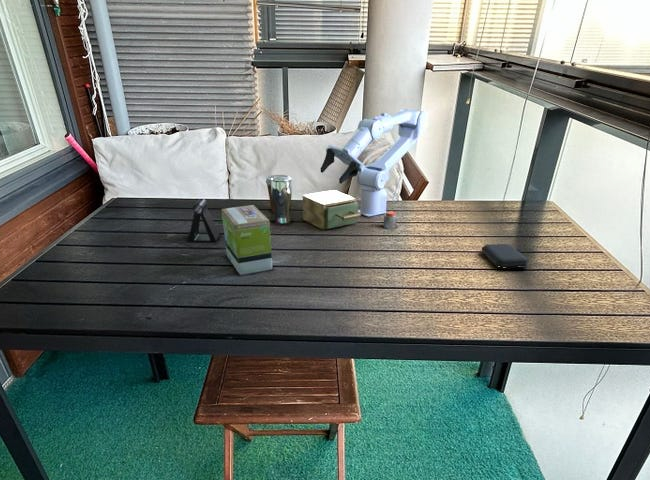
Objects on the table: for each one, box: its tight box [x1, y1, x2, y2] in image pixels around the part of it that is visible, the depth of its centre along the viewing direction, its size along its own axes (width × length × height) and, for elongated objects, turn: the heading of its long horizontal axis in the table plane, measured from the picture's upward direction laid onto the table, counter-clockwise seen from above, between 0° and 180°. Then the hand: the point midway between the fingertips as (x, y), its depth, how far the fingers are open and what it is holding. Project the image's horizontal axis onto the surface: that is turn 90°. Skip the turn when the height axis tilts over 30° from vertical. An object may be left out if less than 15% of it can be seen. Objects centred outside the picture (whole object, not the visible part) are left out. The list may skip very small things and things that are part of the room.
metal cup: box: [265, 174, 290, 213], centre depth 182 cm, size 10×10×12 cm
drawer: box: [325, 201, 362, 229], centre depth 168 cm, size 18×12×7 cm
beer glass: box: [271, 176, 293, 226], centre depth 169 cm, size 7×7×15 cm
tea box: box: [221, 204, 273, 276], centre depth 137 cm, size 15×10×15 cm, turn 23°
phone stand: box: [187, 198, 220, 243], centre depth 156 cm, size 9×6×12 cm, turn 88°
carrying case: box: [481, 243, 530, 270], centre depth 143 cm, size 11×3×15 cm
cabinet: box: [302, 189, 357, 231], centre depth 172 cm, size 14×14×9 cm
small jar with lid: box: [383, 210, 398, 230], centre depth 168 cm, size 4×4×5 cm
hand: (330, 176), depth 161 cm, fingers open, 7 cm apart
